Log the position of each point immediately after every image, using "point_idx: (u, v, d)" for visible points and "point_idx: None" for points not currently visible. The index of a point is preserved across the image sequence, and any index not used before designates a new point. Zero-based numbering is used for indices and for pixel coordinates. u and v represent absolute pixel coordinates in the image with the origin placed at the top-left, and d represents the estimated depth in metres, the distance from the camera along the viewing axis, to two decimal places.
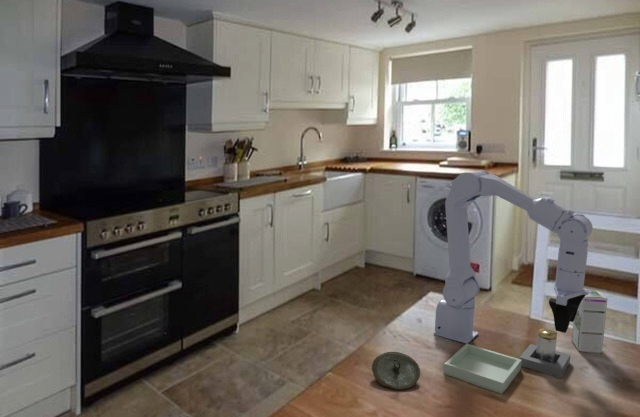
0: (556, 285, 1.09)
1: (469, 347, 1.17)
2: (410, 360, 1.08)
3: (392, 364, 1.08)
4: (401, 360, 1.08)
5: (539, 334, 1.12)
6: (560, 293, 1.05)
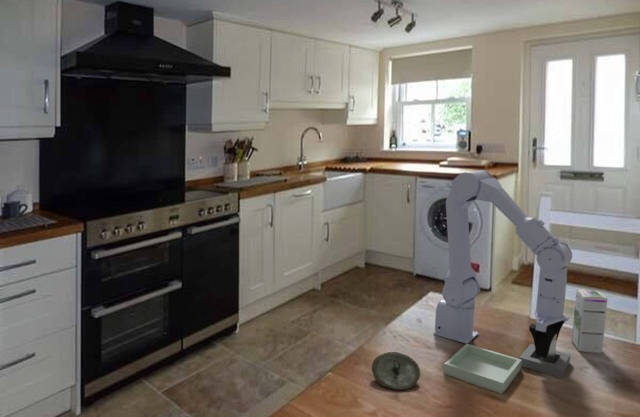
0: (537, 311, 1.11)
1: (469, 347, 1.17)
2: (410, 360, 1.08)
3: (392, 364, 1.08)
4: (401, 360, 1.08)
5: None
6: (540, 319, 1.08)
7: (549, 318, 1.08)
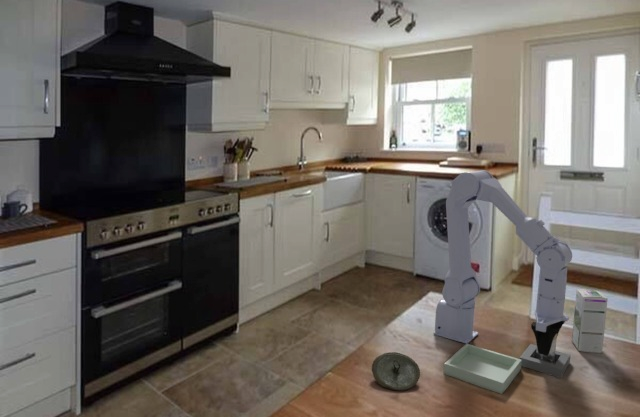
0: (537, 311, 1.11)
1: (469, 347, 1.17)
2: (410, 360, 1.08)
3: (392, 364, 1.07)
4: (401, 361, 1.08)
5: None
6: (540, 319, 1.08)
7: (549, 318, 1.08)
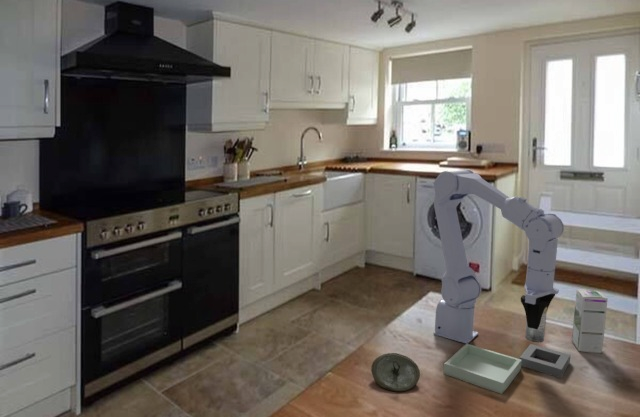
0: (526, 284, 1.09)
1: (469, 347, 1.17)
2: (409, 361, 1.07)
3: (392, 365, 1.07)
4: (400, 361, 1.08)
5: None
6: (529, 292, 1.06)
7: (539, 291, 1.06)
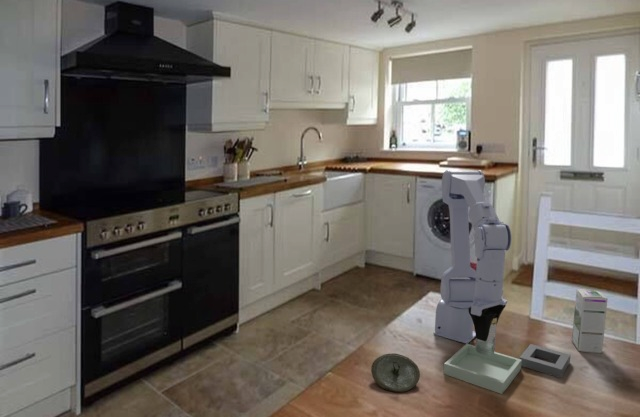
0: (475, 294, 1.06)
1: (469, 347, 1.17)
2: (409, 361, 1.07)
3: (392, 366, 1.07)
4: (400, 362, 1.07)
5: None
6: (476, 303, 1.03)
7: (486, 302, 1.04)
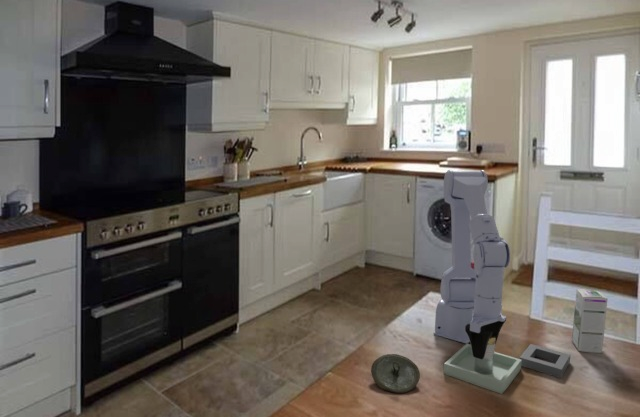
0: (474, 311, 1.07)
1: (469, 347, 1.17)
2: (409, 362, 1.07)
3: (392, 366, 1.07)
4: (400, 362, 1.07)
5: None
6: (475, 320, 1.04)
7: (485, 318, 1.04)
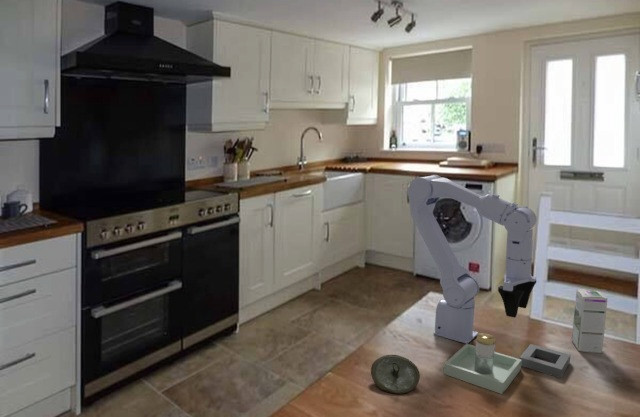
0: (506, 273, 1.16)
1: (469, 347, 1.17)
2: (409, 363, 1.06)
3: (391, 367, 1.06)
4: (400, 363, 1.07)
5: (477, 339, 1.07)
6: (508, 280, 1.13)
7: (517, 279, 1.14)
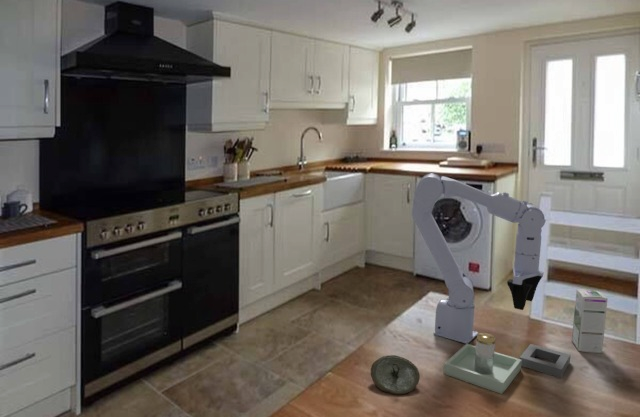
0: (514, 267, 1.21)
1: (469, 347, 1.17)
2: (409, 363, 1.06)
3: (391, 367, 1.06)
4: (400, 364, 1.07)
5: (478, 339, 1.07)
6: (517, 274, 1.18)
7: (525, 273, 1.18)
